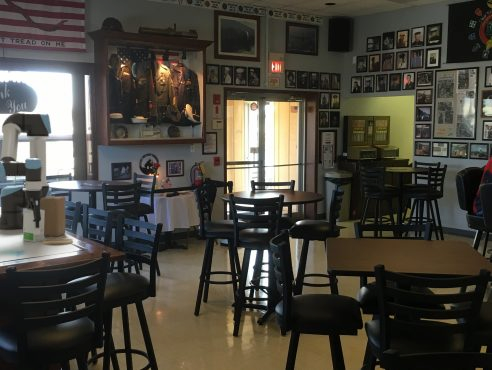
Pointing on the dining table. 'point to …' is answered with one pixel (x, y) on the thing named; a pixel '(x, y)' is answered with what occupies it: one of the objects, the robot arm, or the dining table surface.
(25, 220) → the skincare box
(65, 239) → the cork trivet
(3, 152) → the robot arm
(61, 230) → the wooden block
